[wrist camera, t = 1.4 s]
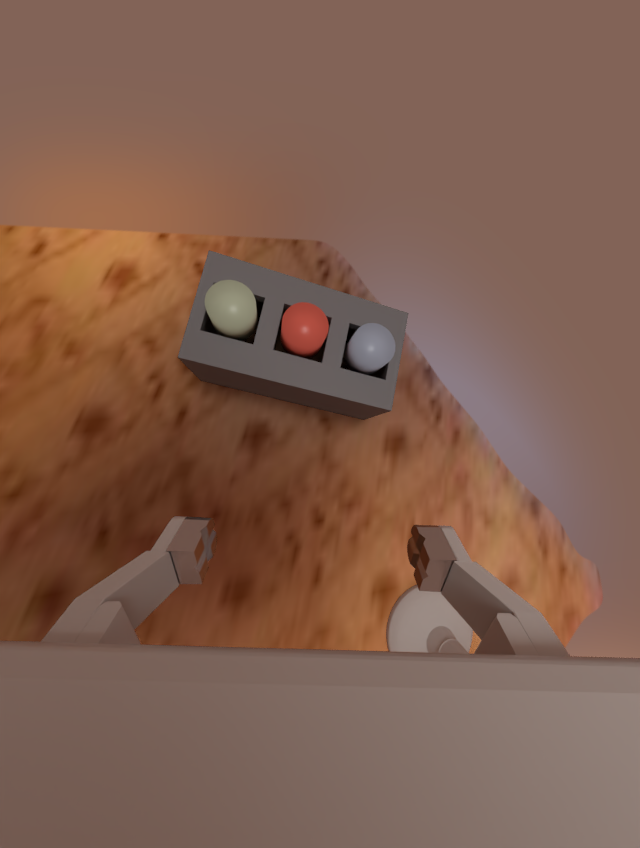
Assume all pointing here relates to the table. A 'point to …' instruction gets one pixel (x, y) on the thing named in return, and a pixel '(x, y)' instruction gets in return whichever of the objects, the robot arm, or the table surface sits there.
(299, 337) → the red button
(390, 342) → the blue button
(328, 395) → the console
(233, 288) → the green button
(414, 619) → the candlestick
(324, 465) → the table surface
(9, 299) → the table surface
